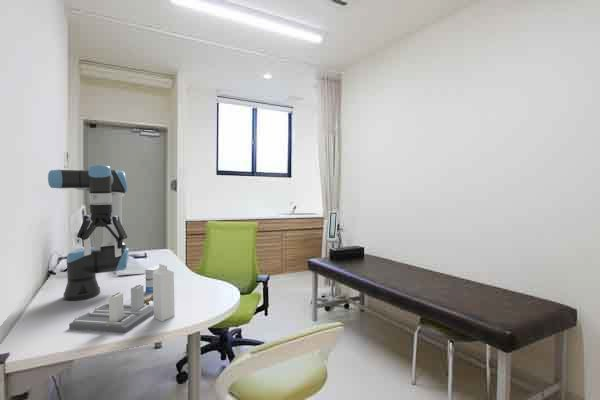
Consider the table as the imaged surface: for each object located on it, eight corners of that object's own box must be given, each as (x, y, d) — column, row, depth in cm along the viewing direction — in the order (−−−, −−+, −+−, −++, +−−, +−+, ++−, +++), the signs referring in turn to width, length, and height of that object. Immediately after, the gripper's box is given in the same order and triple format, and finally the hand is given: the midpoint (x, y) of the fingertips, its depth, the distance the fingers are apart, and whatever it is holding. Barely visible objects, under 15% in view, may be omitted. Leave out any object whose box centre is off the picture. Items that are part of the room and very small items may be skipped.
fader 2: (131, 311, 130) (130, 287, 129) (137, 308, 134) (137, 284, 133) (137, 312, 129) (137, 287, 129) (144, 308, 133) (143, 284, 133)
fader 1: (109, 321, 120) (108, 295, 120) (117, 317, 124) (116, 292, 124) (116, 322, 120) (115, 296, 119) (123, 317, 124) (123, 292, 123)
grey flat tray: (69, 328, 119) (69, 320, 119) (108, 308, 139) (108, 301, 139) (126, 332, 116) (126, 323, 116) (158, 311, 136) (157, 303, 136)
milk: (167, 313, 134) (166, 262, 133) (174, 316, 131) (174, 264, 130) (153, 317, 129) (152, 265, 129) (161, 321, 126) (160, 267, 125)
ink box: (153, 292, 160) (153, 269, 160) (145, 291, 161) (144, 269, 161) (164, 287, 169) (163, 265, 168) (156, 286, 170) (155, 265, 169)
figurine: (126, 314, 138) (162, 301, 144) (123, 305, 137) (159, 292, 144) (127, 311, 141) (162, 299, 147) (124, 302, 140) (159, 290, 147)
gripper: (64, 203, 123) (67, 256, 124) (123, 205, 120) (125, 259, 121) (80, 202, 130) (82, 252, 132) (135, 203, 127) (137, 254, 129)
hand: (102, 255), depth 127 cm, fingers open, 13 cm apart
